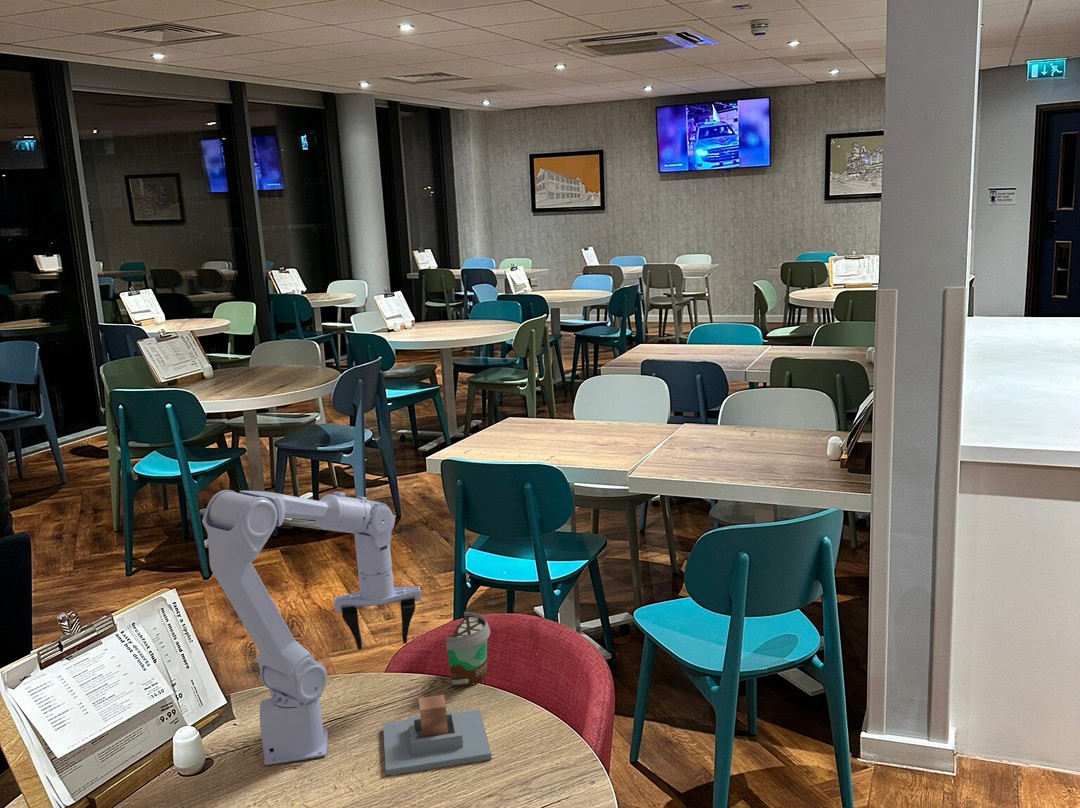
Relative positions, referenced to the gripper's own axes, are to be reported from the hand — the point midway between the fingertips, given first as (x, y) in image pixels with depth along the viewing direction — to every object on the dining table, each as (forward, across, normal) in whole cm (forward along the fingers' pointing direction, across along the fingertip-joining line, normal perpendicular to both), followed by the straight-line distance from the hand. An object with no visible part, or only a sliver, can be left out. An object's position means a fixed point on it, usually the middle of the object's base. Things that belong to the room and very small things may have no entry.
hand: (382, 644), depth 165 cm
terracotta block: (+9, -7, +17) cm, 20 cm away
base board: (+10, -7, +17) cm, 21 cm away
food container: (+11, -16, -4) cm, 20 cm away
